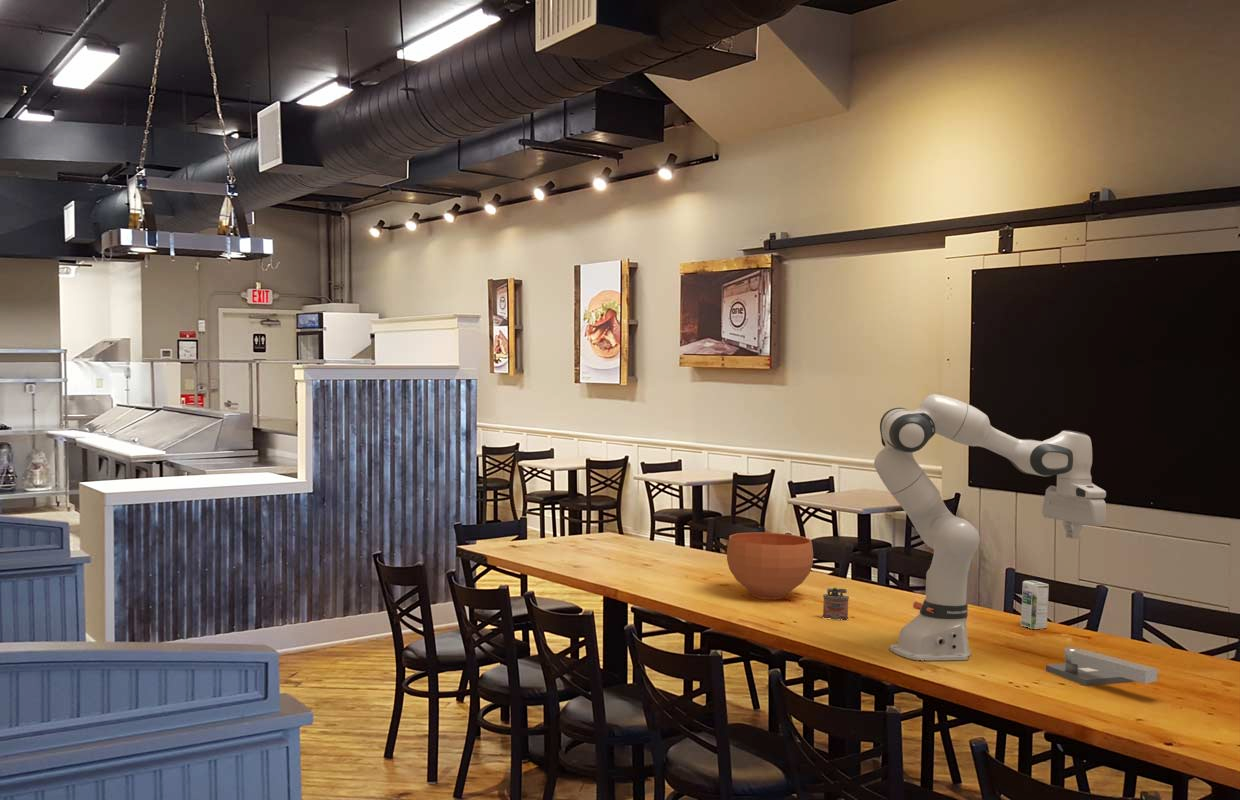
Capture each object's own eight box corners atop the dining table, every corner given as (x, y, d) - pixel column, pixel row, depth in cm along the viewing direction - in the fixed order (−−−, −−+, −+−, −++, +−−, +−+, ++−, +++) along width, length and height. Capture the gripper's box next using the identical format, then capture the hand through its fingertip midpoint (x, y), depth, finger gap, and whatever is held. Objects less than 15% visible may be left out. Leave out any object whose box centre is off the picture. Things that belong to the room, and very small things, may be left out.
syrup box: (1019, 626, 320) (1021, 580, 320) (1034, 625, 322) (1036, 580, 322) (1033, 630, 315) (1034, 584, 315) (1047, 629, 317) (1049, 583, 317)
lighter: (822, 619, 322) (823, 588, 322) (822, 616, 326) (823, 586, 325) (848, 621, 320) (849, 589, 320) (848, 618, 324) (849, 587, 323)
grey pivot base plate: (1085, 685, 256) (1086, 669, 256) (1045, 670, 269) (1046, 654, 269) (1157, 679, 264) (1158, 663, 264) (1115, 664, 277) (1115, 649, 277)
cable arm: (1059, 659, 263) (1060, 648, 263) (1071, 657, 266) (1072, 646, 266) (1145, 683, 243) (1145, 671, 243) (1157, 681, 246) (1157, 668, 246)
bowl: (793, 609, 335) (795, 548, 334) (711, 598, 350) (713, 539, 349) (823, 594, 361) (824, 537, 360) (745, 584, 376) (747, 529, 375)
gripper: (1037, 484, 289) (1036, 532, 289) (1092, 492, 270) (1091, 544, 270) (1055, 484, 291) (1053, 532, 292) (1111, 492, 272) (1109, 543, 272)
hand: (1072, 538), depth 281 cm, fingers closed
